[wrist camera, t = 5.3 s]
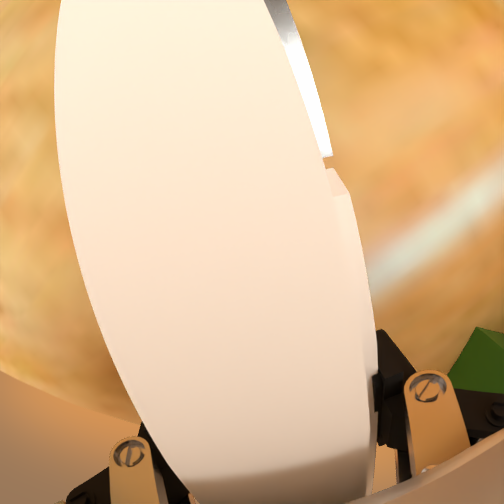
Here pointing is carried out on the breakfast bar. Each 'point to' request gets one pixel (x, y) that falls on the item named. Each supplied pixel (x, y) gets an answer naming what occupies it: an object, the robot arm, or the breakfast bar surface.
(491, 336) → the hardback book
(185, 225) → the cream elongated piece
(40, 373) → the breakfast bar surface
